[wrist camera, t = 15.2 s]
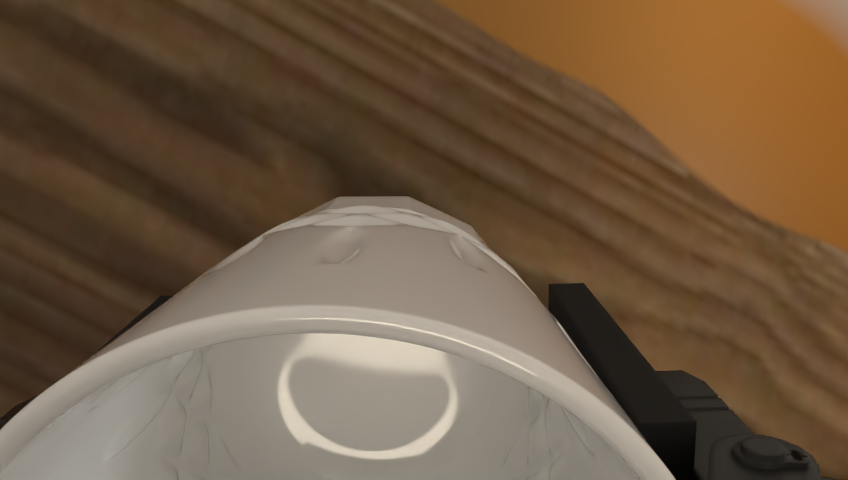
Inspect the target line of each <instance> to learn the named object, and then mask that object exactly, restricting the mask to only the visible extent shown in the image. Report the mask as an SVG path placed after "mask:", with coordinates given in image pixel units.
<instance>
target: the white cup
mask: <svg viewBox="0 0 848 480" xmlns="http://www.w3.org/2000/svg"><path fill="white" fill-rule="evenodd" d="M0 480H676V479H675V478H674V476H673V475H672V473H671V472H670V471H669V469H668V468H667V467H666V465H665V464H664V463H663V461H662V460H661V459H660V458H659V456H658V455H657V454H656V452H655V451H654V450H653V448H652V447H651V446H650V444H649V443H648V442H647V440H646V439H645V438H644V436H643V435H642V434H641V433H640V431H639V430H638V429H637V427H636V426H635V425H634V423H633V422H632V421H631V419H630V418H629V417H628V415H627V414H626V413H625V411H624V410H623V409H622V407H621V406H620V405H619V403H618V402H617V400H616V399H615V398H614V396H613V395H612V394H611V392H610V391H609V390H608V389H607V387H606V386H605V385H604V384H603V382H602V381H601V380H600V378H599V377H598V376H597V374H596V373H595V371H594V370H593V369H592V367H591V366H590V365H589V363H588V362H587V361H586V359H585V358H584V357H583V355H582V354H581V352H580V351H579V350H578V348H577V347H576V345H575V344H574V342H573V341H572V340H571V338H570V337H569V335H568V334H567V333H566V331H565V330H564V328H563V327H562V326H561V324H560V323H559V322H558V321H557V319H556V318H555V317H554V316H553V315H552V313H551V312H550V311H549V310H548V309H547V308H546V307H545V306H544V305H543V304H542V303H541V301H540V300H539V299H538V297H537V296H536V295H535V294H534V292H533V291H532V290H531V289H530V288H529V287H528V286H527V285H526V284H525V283H524V281H523V280H522V279H521V278H520V276H519V275H518V274H517V273H516V272H515V271H514V269H513V268H512V267H511V266H510V265H509V264H508V263H506V262H505V261H504V260H503V259H502V258H501V257H499V256H498V255H497V254H496V253H494V252H493V251H492V250H491V249H490V248H489V247H488V245H487V244H486V243H485V242H484V240H483V239H482V238H481V237H480V236H479V234H478V233H477V232H476V231H475V229H474V228H473V227H472V226H471V225H469V224H467V223H465V222H463V221H460V220H458V219H456V218H454V217H452V216H450V215H448V214H445V213H443V212H441V211H439V210H437V209H435V208H433V207H431V206H428V205H426V204H424V203H422V202H420V201H418V200H416V199H414V198H411V197H409V196H356V197H337V198H335V199H333V200H330V201H328V202H326V203H324V204H322V205H320V206H318V207H316V208H314V209H312V210H310V211H308V212H306V213H304V214H302V215H300V216H298V217H296V218H294V219H291V220H289V221H287V222H284V223H282V224H280V225H278V226H276V227H274V228H272V229H270V230H269V231H267V232H265V233H264V234H262V235H260V236H259V237H257V238H256V239H254V240H252V241H251V242H249V243H248V244H247V245H245V246H243V247H242V248H240V249H238V250H237V251H235V252H234V253H232V254H230V255H229V256H227V257H226V258H224V259H223V260H221V261H220V262H218V263H217V264H216V265H214V266H213V267H211V268H210V269H209V270H207V271H206V272H205V273H203V274H202V275H201V276H199V277H198V278H197V279H195V280H194V281H193V282H191V283H190V284H189V285H187V286H186V287H185V288H183V289H182V290H181V291H179V292H178V293H177V294H175V295H174V296H173V297H171V298H170V299H169V300H167V301H166V302H165V303H163V304H162V305H161V306H159V307H158V308H157V309H155V310H154V311H153V312H151V313H150V314H149V315H147V316H146V317H145V318H143V319H142V320H141V321H139V322H138V323H137V324H135V325H134V326H132V327H131V328H130V329H128V330H127V331H126V332H124V333H123V334H122V335H120V336H119V337H117V338H116V339H115V340H113V341H112V342H111V343H109V344H108V345H107V346H105V347H104V348H102V349H101V350H100V351H98V352H97V353H96V354H94V355H93V356H92V357H90V358H89V359H87V360H86V361H85V362H83V363H82V364H81V365H79V366H78V367H76V368H75V369H74V370H72V371H71V372H70V373H68V374H67V375H65V376H64V377H63V378H61V379H60V380H59V381H57V382H56V383H54V384H53V385H52V386H50V387H49V388H48V389H46V390H45V391H44V392H42V393H41V394H40V395H38V396H37V397H36V398H35V399H33V400H32V401H31V402H30V403H29V404H27V405H26V406H25V407H24V408H23V409H22V410H20V411H19V412H18V413H17V414H16V415H15V416H14V417H13V418H12V419H11V420H10V421H9V422H7V423H6V424H5V425H4V426H3V427H2V428H1V429H0Z"/></svg>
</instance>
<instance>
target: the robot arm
mask: <svg viewBox="0 0 848 480" xmlns="http://www.w3.org/2000/svg"><path fill="white" fill-rule="evenodd" d="M171 297H173V296H160V297H159V298H158V299H157V300H156V301H155V302H154V303H152V304H151V305H150V306H149V307H148V308H147V309H146V310H144V311H143V312H142V313H141V314H140V315H139V316H137V317H136V318H135V319H134V320H133V321H132V322H131V323H129V324H128V325H127V326H126V327H125V328H124V329H122V330H121V331H120V332H119V333H118V334H117V335H116V336H114V337H113V338H112V339H111V340H110V341H109V342H107V343H106V344H105V345H104V346H103V347H102V348H104V347H105V346H107V345H108V344H109V343H111V342H112V341H113V340H115V339H116V338H117V337H119V336H120V335H122V334H123V333H124V332H126V331H127V330H128V329H130V328H131V327H132V326H134V325H135V324H137V323H138V322H139V321H141V320H142V319H143V318H145V317H146V316H147V315H149V314H150V313H151V312H153V311H154V310H155V309H157V308H158V307H159V306H161V305H162V304H163V303H165V302H166V301H167V300H169V299H170V298H171ZM549 311H550V312H551V313H552V315H553V316H554V317H555V318H556V319H557V321H558V322H559V323H560V324H561V326H562V327H563V328H564V330H565V331H566V333H567V334H568V335H569V337H570V338H571V340H572V341H573V342H574V344H575V345H576V347H577V348H578V350H579V351H580V352H581V354H582V355H583V357H584V358H585V359H586V361H587V362H588V363H589V365H590V366H591V367H592V369H593V370H594V371H595V373H596V374H597V376H598V377H599V378H600V380H601V381H602V382H603V384H604V385H605V386H606V387H607V389H608V390H609V391H610V392H611V394H612V395H613V396H614V398H615V399H616V400H617V402H618V403H619V405H620V406H621V407H622V409H623V410H624V411H625V413H626V414H627V415H628V417H629V418H630V419H631V421H632V422H633V423H634V425H635V426H636V427H637V429H638V430H639V431H640V433H641V434H642V435H643V436H644V438H645V439H646V440H647V442H648V443H649V444H650V446H651V447H652V448H653V450H654V451H655V452H656V454H657V455H658V456H659V458H660V459H661V460H662V461H663V463H664V464H665V465H666V467H667V468H668V469H669V471H670V472H671V473H672V475H673V476H674V478H675V479H676V480H836V479H831V478H826V477H822V476H821V473H820V469H819V465H818V464H817V462H816V461H815V459H814V458H813V456H812V455H810V454H809V453H808V452H806V451H805V450H803V449H802V448H800V447H799V446H796V445H794V444H791V443H789V442H786V441H784V440H781V439H777V438H773V437H768V436H764V435H755V434H754V433H753V432H752V431H751V430H750V429H749V428H748V427H747V426H746V425H745V424H744V423H743V422H742V421H741V420H740V418H739V417H738V416H737V415H736V414H735V413H734V412H733V411H732V410H729V408H728V406H727V405H726V404H725V403H724V402H723V401H722V399H721V398H718V395H717V394H716V393H715V392H714V391H713V390H712V389H711V388H710V387H709V386H708V385H707V384H706V383H705V382H704V381H702V380H700V379H698V378H696V377H694V376H692V375H690V374H688V373H686V372H684V371H682V370H681V371H655V370H654V369H653V368H652V366H651V365H650V364H649V363H648V362H647V360H646V359H645V358H644V357H643V355H642V354H641V353H640V352H639V351H638V349H637V348H636V347H635V346H634V344H633V343H632V342H631V341H630V339H629V338H628V337H627V336H626V335H625V333H624V332H623V331H622V330H621V328H620V327H619V326H618V325H617V324H616V322H615V321H614V320H613V319H612V317H611V316H610V315H609V314H608V312H607V311H606V310H605V309H604V308H603V306H602V305H601V304H600V303H599V301H598V300H597V299H596V298H595V297H594V295H593V294H592V293H591V292H590V290H589V289H588V288H587V287H586V285H585V284H584V283H573V284H549ZM102 348H101V349H102ZM101 349H99V350H98V351H100V350H101ZM98 351H97V352H98ZM97 352H96V353H97ZM96 353H95V354H96ZM91 357H92V356H91ZM39 395H40V394H39ZM37 396H38V395H37ZM37 396H35V397H33V398H31V399H29V400H27V401H25V402H23V403H21V404H19V405H17V406H15V407H14V408H13V409H12V410H10V411H9V412H8V413H7V414H5V415H4V416H3V417H2V418H1V419H0V429H1V428H2V427H3V426H4V425H5V424H6V423H7V422H9V421H10V420H11V419H12V418H13V417H14V416H15V415H16V414H17V413H18V412H19V411H20V410H22V409H23V408H24V407H25V406H26V405H27V404H29V403H30V402H31V401H32V400H33V399H35V398H36V397H37Z"/></svg>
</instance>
